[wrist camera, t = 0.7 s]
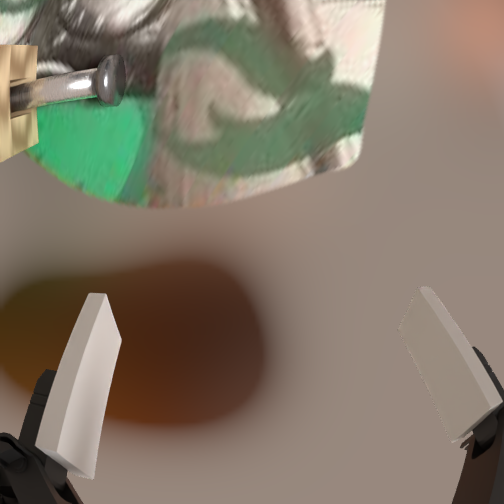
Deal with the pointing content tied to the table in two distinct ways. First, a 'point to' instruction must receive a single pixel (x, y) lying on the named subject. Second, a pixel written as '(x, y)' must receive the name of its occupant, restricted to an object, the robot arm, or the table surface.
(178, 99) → the table surface
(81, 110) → the table surface
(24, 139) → the block
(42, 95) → the pin
